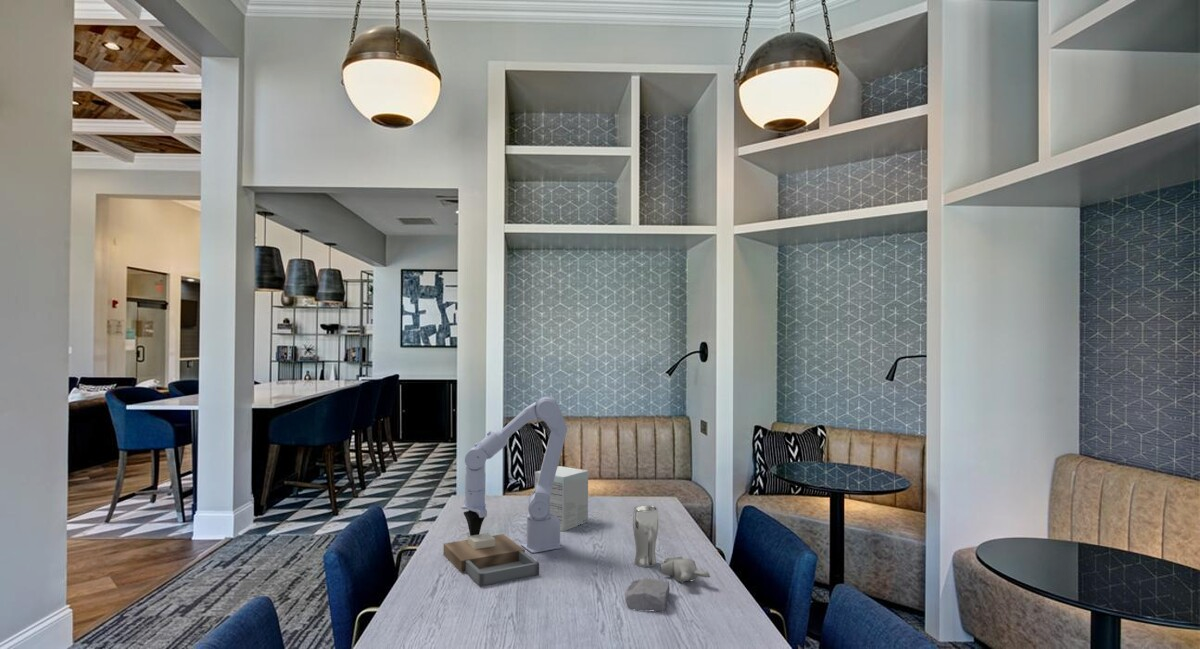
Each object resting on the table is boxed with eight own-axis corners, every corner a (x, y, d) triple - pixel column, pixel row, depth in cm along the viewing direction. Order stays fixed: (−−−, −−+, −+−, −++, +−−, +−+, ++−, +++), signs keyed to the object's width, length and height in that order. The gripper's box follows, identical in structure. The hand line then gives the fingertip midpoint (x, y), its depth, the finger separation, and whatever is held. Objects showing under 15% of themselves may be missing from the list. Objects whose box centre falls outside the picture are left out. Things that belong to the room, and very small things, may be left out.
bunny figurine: (686, 552, 166) (713, 564, 152) (686, 571, 165) (714, 585, 151) (654, 555, 163) (679, 568, 149) (654, 576, 162) (680, 590, 148)
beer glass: (661, 561, 170) (661, 506, 170) (652, 569, 163) (653, 512, 164) (638, 557, 172) (638, 503, 173) (628, 565, 166) (629, 509, 167)
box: (522, 561, 168) (522, 550, 168) (539, 574, 159) (539, 563, 159) (465, 572, 160) (465, 560, 160) (479, 586, 151) (479, 574, 151)
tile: (487, 540, 177) (487, 533, 177) (495, 545, 172) (495, 538, 172) (467, 543, 174) (467, 536, 174) (474, 549, 169) (474, 542, 169)
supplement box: (558, 515, 214) (559, 465, 215) (588, 522, 207) (589, 470, 207) (533, 524, 203) (533, 471, 204) (563, 531, 196) (564, 476, 196)
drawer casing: (503, 544, 183) (503, 534, 183) (524, 560, 169) (524, 549, 169) (443, 554, 174) (443, 543, 174) (461, 572, 160) (461, 560, 160)
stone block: (624, 618, 138) (668, 613, 137) (620, 596, 139) (664, 591, 137) (632, 599, 150) (672, 594, 148) (628, 579, 150) (668, 573, 149)
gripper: (454, 485, 183) (453, 531, 182) (470, 496, 170) (469, 545, 170) (477, 483, 186) (476, 528, 186) (494, 493, 174) (493, 541, 173)
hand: (474, 536), depth 178 cm, fingers closed
